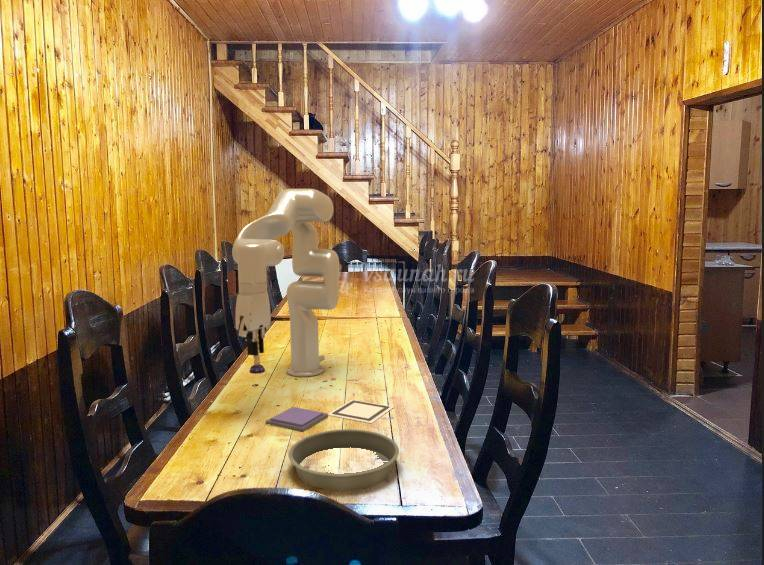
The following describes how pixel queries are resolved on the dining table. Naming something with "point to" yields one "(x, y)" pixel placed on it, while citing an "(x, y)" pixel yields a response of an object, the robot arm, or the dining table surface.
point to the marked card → (361, 411)
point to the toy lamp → (257, 359)
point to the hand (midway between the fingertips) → (255, 353)
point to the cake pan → (344, 439)
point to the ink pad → (297, 419)
